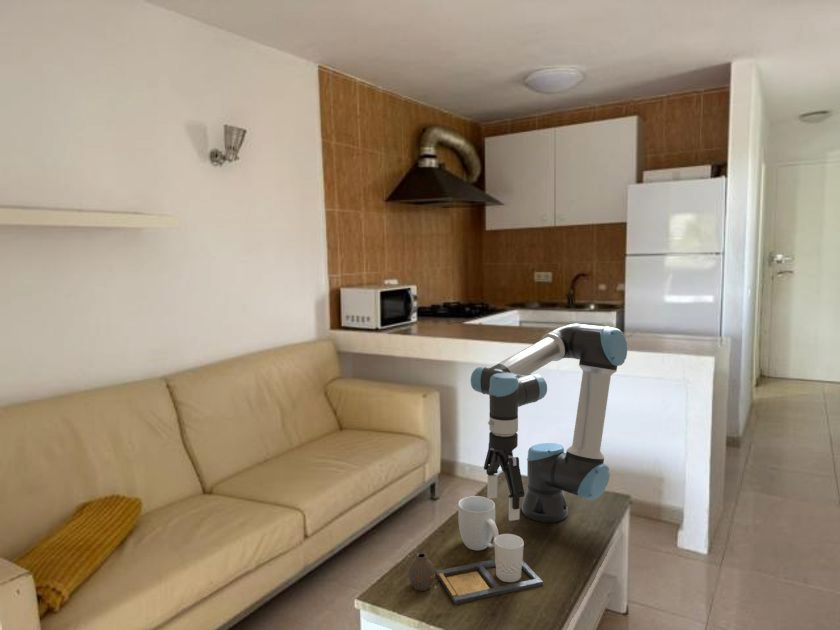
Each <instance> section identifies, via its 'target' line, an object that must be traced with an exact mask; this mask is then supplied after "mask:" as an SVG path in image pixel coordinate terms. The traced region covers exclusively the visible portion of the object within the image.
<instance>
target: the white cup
mask: <svg viewBox="0 0 840 630" xmlns="http://www.w3.org/2000/svg"><path fill="white" fill-rule="evenodd" d="M493 540H494V547H493V548H494V559H495V565H496V566H495V571H496V572H495V573H496V575H495V576H496V577H497V579H499V580H500V581H502V582H505V583H517V582H518V581H520V580H521V578H522V569H523V568H522V561H524V546H525V542H524V540H523V538H522V537H520V536H519V535H517V534H512V533H501V534H499V535H498V536H497V537H496V538H495V539H494V538H493Z"/></svg>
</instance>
